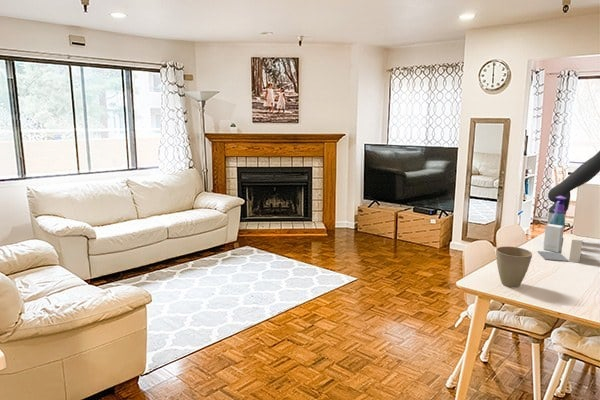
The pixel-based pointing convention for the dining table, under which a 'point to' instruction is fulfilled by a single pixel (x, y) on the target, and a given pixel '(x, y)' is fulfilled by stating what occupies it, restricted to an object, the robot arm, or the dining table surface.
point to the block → (571, 247)
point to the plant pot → (512, 264)
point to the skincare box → (553, 237)
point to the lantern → (559, 212)
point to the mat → (552, 256)
